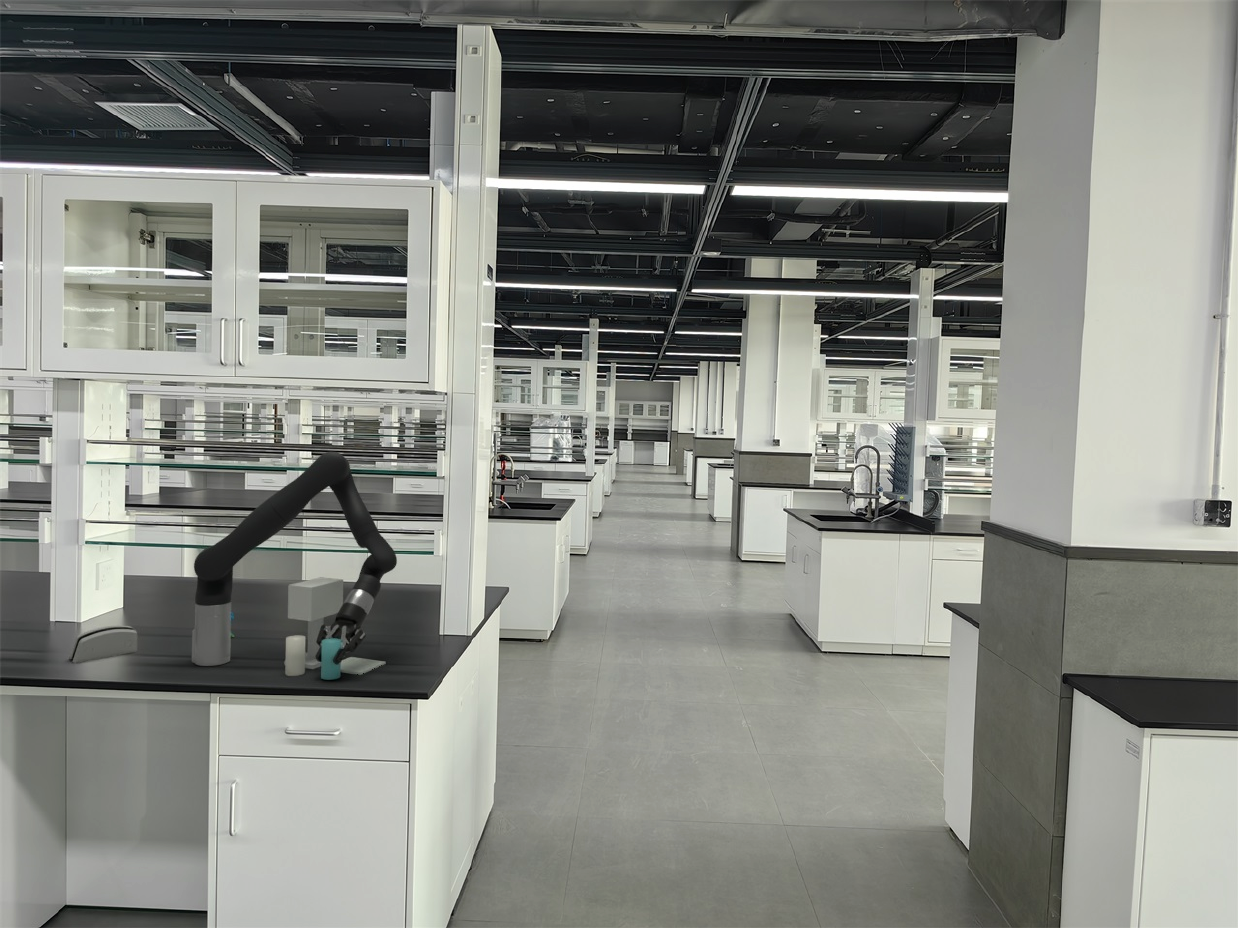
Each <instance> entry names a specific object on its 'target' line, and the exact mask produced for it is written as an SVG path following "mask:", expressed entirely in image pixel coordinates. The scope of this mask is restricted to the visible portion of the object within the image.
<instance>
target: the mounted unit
mask: <svg viewBox="0 0 1238 928" xmlns="http://www.w3.org/2000/svg"><path fill="white" fill-rule="evenodd" d="M287 595H288V596H287V597H288V598H287V600H288V601H287V619H289V620H290V619H291V620H299V621H307V652H305V669H309V670H315V669H317V668H319V667H320V668H321V662H318V661H317V660H316V657H315V656H316V654H317V652H318V650H319V648H320V646H319V645H318V644H317V643H316V641H317V637H318V634H319V631H320V628H321V626H322V625H324V618H326V617H329V616H333V615H337V614H338V612H339V610H340V608H341V606H342V605H343V603H344V579H341V578H332V577H324V576H323V577H321V576H320V577H317V578H312V579H308V580H303V581H300V582H295V583H292V584H288V592H287ZM344 658H346V655H345V656H344ZM283 664H284V666H286V659H285V660H284V661H283Z"/></svg>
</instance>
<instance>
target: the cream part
mask: <svg viewBox="0 0 1238 928" xmlns="http://www.w3.org/2000/svg"><path fill="white" fill-rule="evenodd" d="M305 653H306V636H305V635H301V634H299V635H298V634H297V635H295V634H294V635H290V636H289V635H288V636H286V637H285V660H286V665H284V666H285V669H284V670H285V671H284V674H285V676H289V677H297V676H301V675H304V674H305V672H306V668H305Z"/></svg>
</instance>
